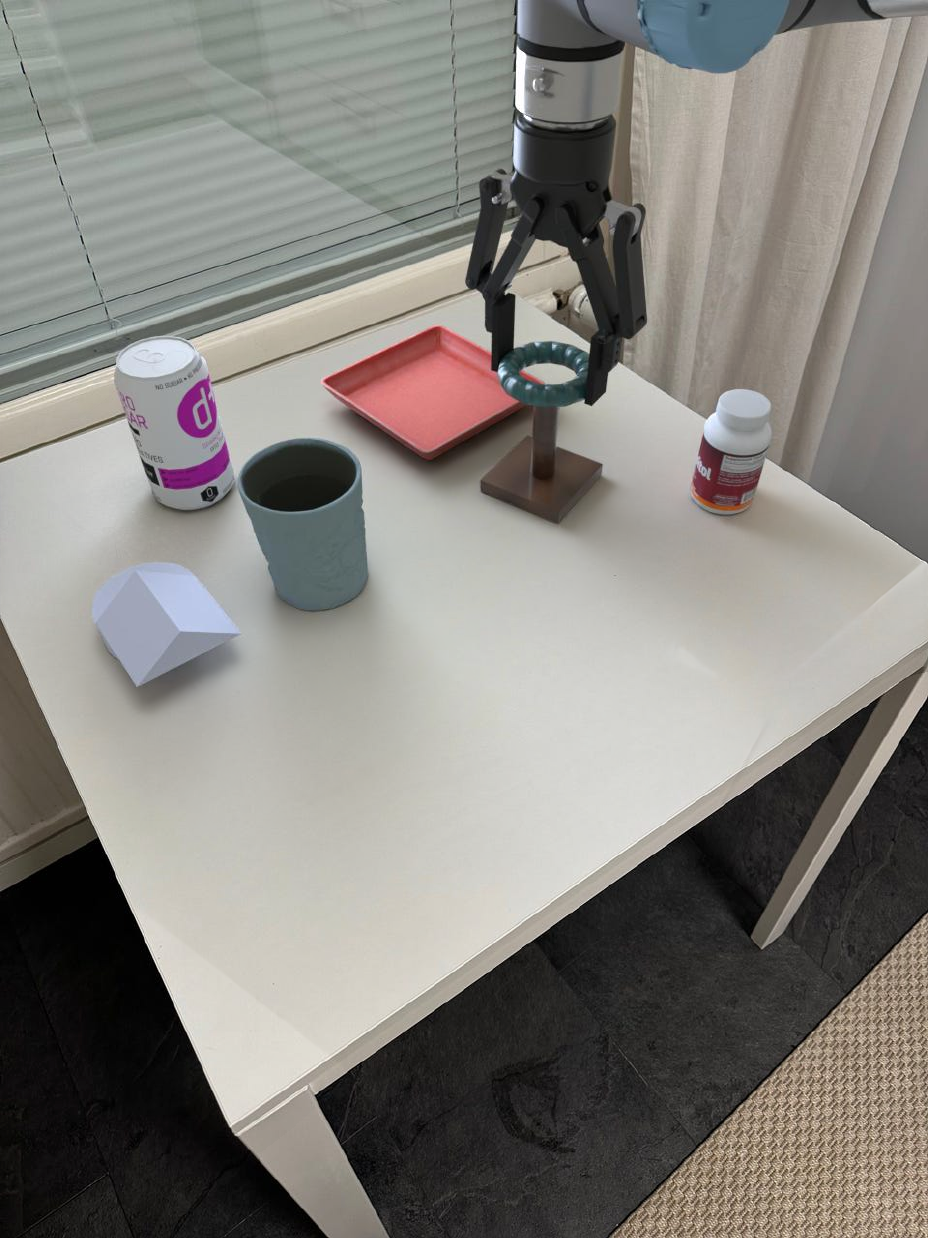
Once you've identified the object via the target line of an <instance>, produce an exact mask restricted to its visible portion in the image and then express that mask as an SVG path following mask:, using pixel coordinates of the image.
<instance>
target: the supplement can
mask: <svg viewBox="0 0 928 1238" xmlns="http://www.w3.org/2000/svg"><path fill="white" fill-rule="evenodd" d="M115 360H116V361H115V363H116V364H115V369H114V373H113V376H114V377H113V379H114V381H113V383H114V386H115V388H116V392H117V395H118V397H119V399H120V400H119V401H120V403H121V406H122V409H123V411H124V415H125V417H126V420H127V423H128V426H129V429H130V432H131V435H132V438H133V441H134V443H135V446H136V449H137V452H138V455H139V458H140V461H141V463H142V467H143V470H144V472H145V473H144V474H145V475H146V478H147V481H148V485H149V486H150V487H149V488H150V490H151V492H152V494H153V496H154V497H155V499H156V500H157V502H159V503H161V504H163V505H165V506H166V507H170V508H173V509H175V510H182V511H195V510H200V509H201V510H202V509H204V508H207V507H210V506H212V505H214V504H216V503H217V502H219V501H221V500H222V499H223V498H224V497H225V496H226V495H227V494H228V492H229V491H230V490H231V489H232V488H233V485H234V482H235V480H236V479H235V472H234V468H233V463H232V459H231V455H230V451H229V448H228V444H227V439H226V436H225V433H224V428H223V424H222V420H221V416H220V412H219V409H218V404H217V401H216V396H215V392H214V389H213V385H212V382H211V376H210V373H209V369H208V365H207V361H206V359H205V358H204V357H203V356H202V355H201V354H200V353H199V352H198V351H197V350H196V347H195V346H194V344H192V342H191V341H189V340H187V339H186V338H183V337H180V336H171V335H160V336H152V337H146V338H143V339H140V340H137V341H135V342H133V343H130V344H129V345H127V346H126V347H124V348H123V349H122V350H120V352H119V353H118V355H117V356H116V359H115Z"/></svg>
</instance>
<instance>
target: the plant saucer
mask: <svg viewBox="0 0 928 1238" xmlns="http://www.w3.org/2000/svg"><path fill="white" fill-rule="evenodd" d="M520 374H521V376H522V377H524V378H525V379H527V380H529V381H531V382H535V383H540V384H545V385H546V382H544V381H543V380H541V379H540V378H537V377H536V376H534V375H532V374H530V373H529V372H527V371H525V370H524V369H523V370H522V371H520ZM320 384H321V385H322V387H323V388H324V389H325V390H327V392H329V393H330V395H332V396H333V397H334V398H335V399H336V400H338V401H339V402H340V403H342V404H343V405H344V406H346V407H347V408H348V409H351V410H352V411H353V412H355V413H356V414H358V415H359V416H360V417H362V418H363V419H365V420H366V421H368V422H369V423H371V424H373V425H374V426H375V427H377V428H379V429H380V430H381V431H383V432H384V433H385V434H387V435H389V436H390V437H392V438H393V439H395V440H396V441H398V442H399V443H400V444H402V445H403V446H405V447H406V448H408V449H409V450H411V451H412V452H414V453H416V454H417V455H418V456H419V457H421V458H422V459H425V460H428V461H430V460H433V459H435V458H437V457H438V456H440V455H442V454H444V453H446V452H447V451H449V450H451V449H452V448H454V447H456V446H458V445H460V444H461V443H463V442H465V441H467V440H469V439H470V438H472V437H474V436H475V435H477V434H478V433H481V432H482V431H484V430H486V429H487V428H490V427H491V426H493V425H494V424H496V423H498V422H500V421H502V420H503V419H505V418H506V417H509V416H511V415H512V414H514V413H516V412H518V411H519V410H521V409H522V408H524V407H525V406H527V404H523V403H521V402H519V401H517V400H516V399H514V398H512V397H511V396H509V395H507V394H506V393H505V391H504V390H503V388H502V386H501V385H500V383H499V381H498V379H497V372H495V371H492V370H491V351H490V350H488V349H486V348H484V347H482V346H480V345H479V344H477V343H475V342H474V341H472V340H470V339H468V338H466V337H464V336H462V335H460V334H459V333H457V332H455V331H453V330H451V329H450V328H448V327H446V326H444V325H441V324H435V325H432V326H430V327H428V328H426V329H424V330H421V331H419V332H417V333H415V334H413V335H411V336H409V337H406V338H405V339H403V340H401V341H399V342H396V343H394V344H392V345H390V346H388V347H386V348H383V349H381V350H379V351H377V352H375V353H373V354H371V355H368V356H367V357H365V358H362V359H361V360H358V361H356V362H354V363H352V364H349V365H347V366H346V367H344V368H341V369H339V370H336V371H335V372H332V373H331V374H329V375H327V376H325V377H323V378H321V380H320Z"/></svg>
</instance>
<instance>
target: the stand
mask: <svg viewBox="0 0 928 1238" xmlns="http://www.w3.org/2000/svg"><path fill="white" fill-rule="evenodd" d="M559 417H560V407H553V408H541V407H536V406H533V411H532V429H531V435H528V434H527V435H526V436H525V437H523V439H522V440H521V441H520V442H518V444H516V445H515V446H514V447H513V448H512V449H511V450H510V451H509V452H508V453H507V454H506V455H505V456H503V458H502V459H501V460H499V461H498V463H497V464H495V465H494V466H493V467H492V468H491V469H490V470H489V471H488V472H487V473H486V474H485V475H484V476H483V477H482V478H481V479H480V481H479V483H480V484H479V487H480V489H479V492H481V493H483V494H485V495H488V496H490V497H492V498H495V499H498V500H500V501H503V502H505V503H507V504H509V505H512V506H514V507H516V508H518V509H522V510H524V511H526V512H528V513H531V514H533V515H536V516H538V517H540V518H543V519H545V520H547V521H550V522H552V523H555V524H559V523H560V522H561V521H562V520H563V518H565V516H566V515H568V513H569V512H571V510H572V509H573V508H574V506H575V505H576V504H577V503H578V502H579V501H580V500H581V499H582V498H583V496H585V495H586V493H587V492H588V491H589V490H590V489H591V488H592V487H593V486H594V484H595V483H597V482H598V480H599V479H600V478H601V477H602V476H603V475H602V474H603V468H604V467H603V466H604V464H603V463H602V462H599V461H596V460H593V459H591V458H588V457H586V456H584V455H580V454H578V453H575V452H573V451H570V450H567V449H565V448H562V447H559V446H557V443H558V442H557V441H558V428H559Z"/></svg>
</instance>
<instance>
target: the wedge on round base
mask: <svg viewBox="0 0 928 1238" xmlns="http://www.w3.org/2000/svg"><path fill="white" fill-rule="evenodd" d="M90 608H91V610H90V611H91V616H92V620H93V622H94V624H95V626H96V628H97V630H98V633H99V635H100V637H101V639H102V641H103V643H104V645H105V647H106V649H107V651H108V652H109V653H110V654H111V655H112V656H113V658H116V659H117V660H119V661H120V663H121V665H122V666H123V668H124V670H125V671H126V672H127V674H128V676H129V677H130V678H131V680H132V682H133V683H134V685H135V687H136V688H139V687H140V686H142V685H144V684H146V683H148V682H150V681H152V680H154V679H156V678H158V677H159V676H162V675H163V674H165V673H168V672H169V671H171V670H173V669H175V668H177V667H179V666H181V665H183V664H185V663H187V662H189V661H191V660H193V659H195V658H197V657H198V656H201V655H203V654H204V653H206V652H209V651H211V650H212V649H215V648H216V647H219V646H220V645H222V644H225V643H226V642H228V641H230V640H232V639H234V638H236V637H238V636H240V635H242V632H241V631H240V630H239V629H238V627H237V626H236V625H235V624H234V622H233V621H232V620H231V618H230V617H229V616H228V615H227V613H226V612H225V611H224V609H223V608H222V607H221V606H220V605H219V603H218V602H217V601H216V600H215V598H214V597H213V596H212V594H210V592H209V591H208V589H207V588H206V587H205V586H204V584H202V582H201V581H200V580H199V579H198V577H197V575H195V574H194V573H193V572H192V571H191V570H189V569H188V568H186V567H185V566H183V565H180V564H176V563H173V562H166V561H154V562H145V563H141V564H136V565H133V566H129V567H128V568H126V569H123V570H122V571H119V572H118V573H116V574H113V576H112V577H110V578H109V579H107V580H106V581H105V582H104V583H103V584H102V585H101V586H100V587H99V588H98V590H97V592H96V593H95V595H94V597H93V599H92V603H91V607H90Z"/></svg>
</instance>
